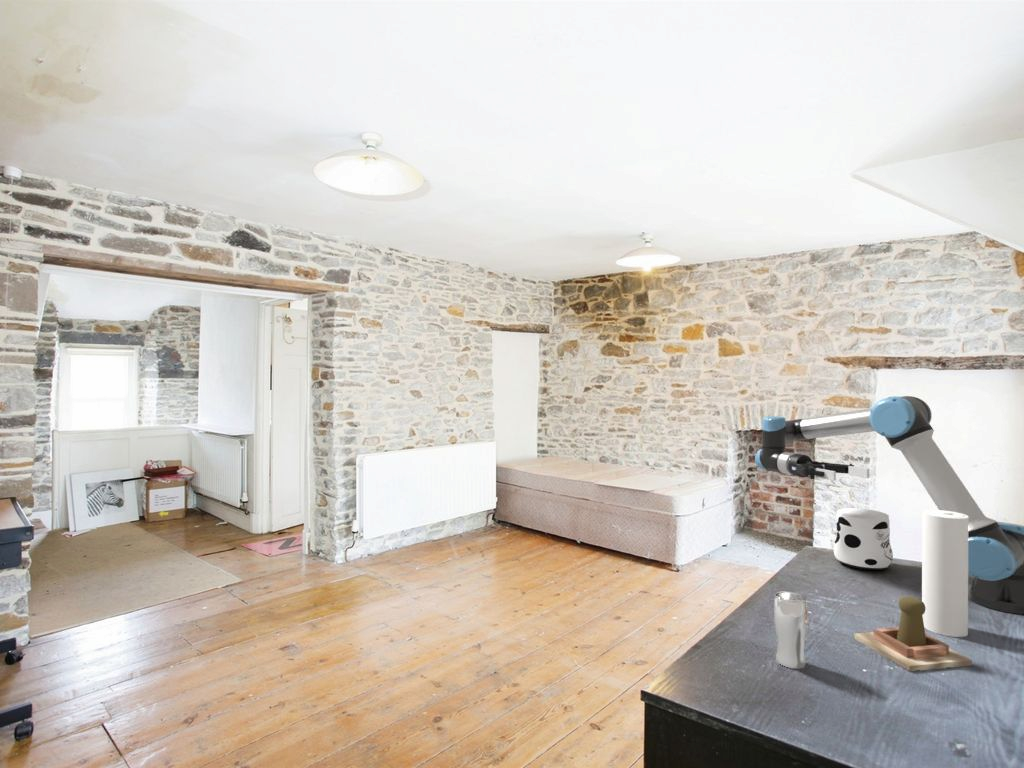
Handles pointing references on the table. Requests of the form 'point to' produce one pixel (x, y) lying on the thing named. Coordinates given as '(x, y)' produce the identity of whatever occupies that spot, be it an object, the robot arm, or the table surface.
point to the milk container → (863, 539)
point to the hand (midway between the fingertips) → (851, 474)
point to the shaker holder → (912, 651)
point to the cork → (911, 622)
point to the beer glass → (790, 628)
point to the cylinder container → (945, 572)
